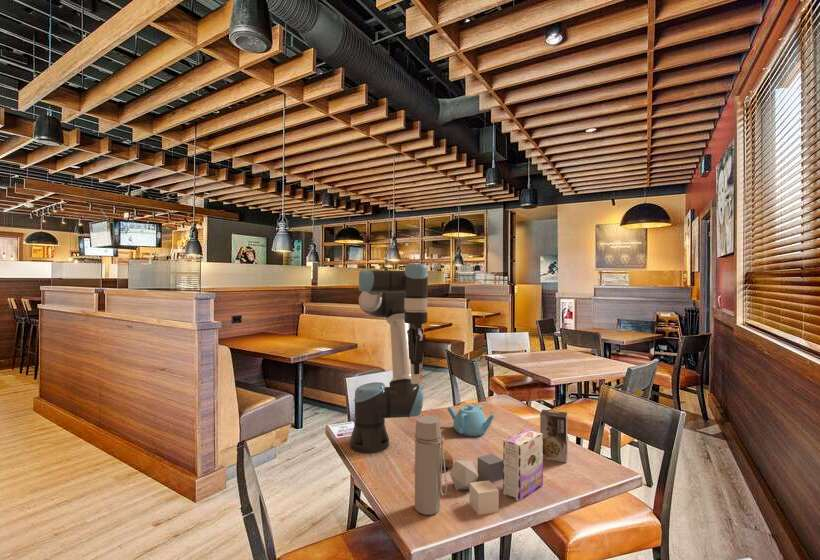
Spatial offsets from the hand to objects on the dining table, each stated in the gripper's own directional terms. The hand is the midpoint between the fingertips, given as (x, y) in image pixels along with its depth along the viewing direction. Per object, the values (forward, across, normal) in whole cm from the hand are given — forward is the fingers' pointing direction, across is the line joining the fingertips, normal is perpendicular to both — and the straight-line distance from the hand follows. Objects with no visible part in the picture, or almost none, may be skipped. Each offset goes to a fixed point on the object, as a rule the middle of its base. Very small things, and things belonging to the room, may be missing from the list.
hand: (415, 383), depth 134 cm
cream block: (+30, -23, -13) cm, 40 cm away
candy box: (+30, -18, -30) cm, 46 cm away
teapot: (+31, +32, -34) cm, 56 cm away
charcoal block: (+30, -8, -24) cm, 39 cm away
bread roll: (+31, +4, -9) cm, 32 cm away
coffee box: (+31, 0, -53) cm, 61 cm away
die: (+30, -11, -12) cm, 35 cm away
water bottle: (+30, -21, +2) cm, 37 cm away
